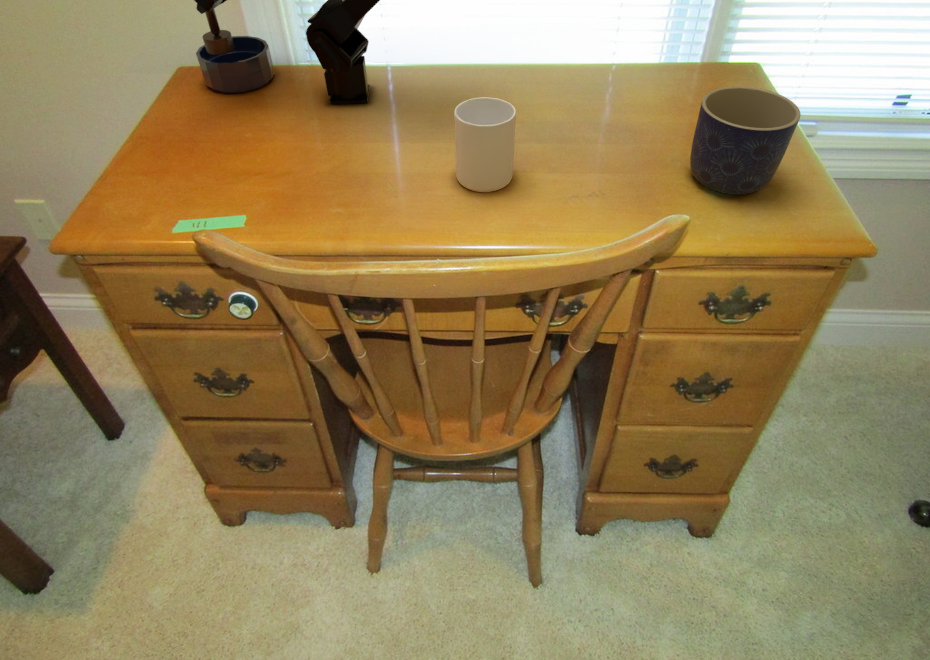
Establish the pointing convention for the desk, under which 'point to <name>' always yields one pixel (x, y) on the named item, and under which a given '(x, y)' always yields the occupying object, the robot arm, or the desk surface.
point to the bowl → (237, 66)
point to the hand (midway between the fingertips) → (202, 9)
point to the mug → (484, 143)
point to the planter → (741, 138)
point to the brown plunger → (217, 37)
